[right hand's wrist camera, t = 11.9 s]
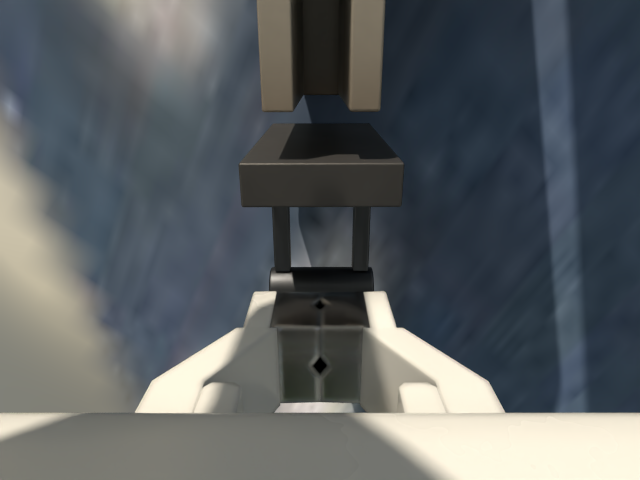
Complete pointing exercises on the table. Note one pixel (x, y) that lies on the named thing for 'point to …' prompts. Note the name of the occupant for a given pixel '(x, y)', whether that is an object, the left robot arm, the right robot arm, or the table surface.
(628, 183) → the table surface
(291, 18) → the drawer
